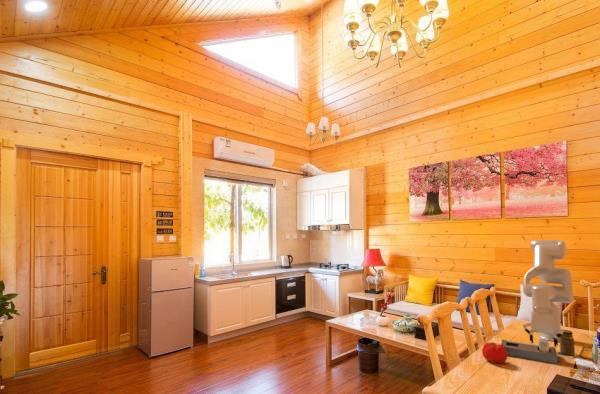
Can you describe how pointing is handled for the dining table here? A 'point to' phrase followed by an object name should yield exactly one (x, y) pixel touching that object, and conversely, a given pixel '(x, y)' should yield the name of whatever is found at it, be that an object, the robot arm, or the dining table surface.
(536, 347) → the panel
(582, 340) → the dining table surface
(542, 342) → the plug
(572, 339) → the condiment
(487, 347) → the tomato
